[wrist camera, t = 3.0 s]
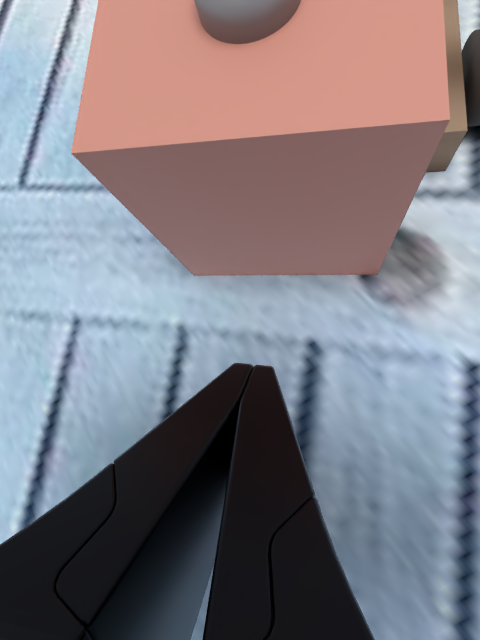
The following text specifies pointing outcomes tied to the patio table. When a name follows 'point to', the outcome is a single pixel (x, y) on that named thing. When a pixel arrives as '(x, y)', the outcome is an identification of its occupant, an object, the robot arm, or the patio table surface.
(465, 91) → the chassis bay
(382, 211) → the pink toy brick
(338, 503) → the patio table surface
